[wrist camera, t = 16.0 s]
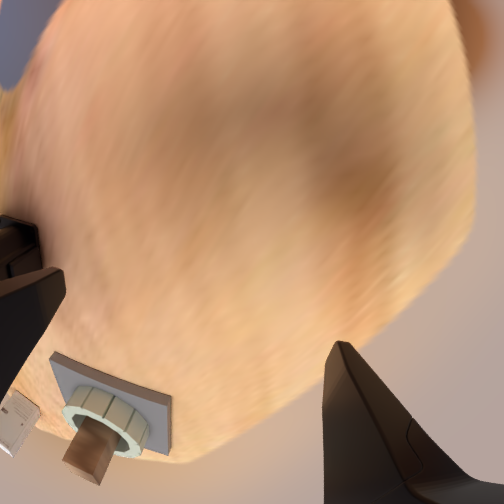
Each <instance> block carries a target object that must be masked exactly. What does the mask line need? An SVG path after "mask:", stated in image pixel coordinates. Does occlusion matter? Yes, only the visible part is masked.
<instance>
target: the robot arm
mask: <svg viewBox="0 0 504 504" xmlns="http://www.w3.org/2000/svg"><path fill="white" fill-rule="evenodd" d="M65 295H66V286H65V278H64V272H63V270H61V269H59V268H56V267H49V268H45V269H42V264H41V257H40V249H39V240H38V230H37V227H36V226H35V225H34V224H30V223H27V222H23V221H20V220H17V219H13V218H10V217H7V216H3V215H0V404H1V401H2V400H3V398H4V396H5V395H6V393H7V391H8V389H9V388H10V386H11V384H12V383H13V381H14V379H15V377H16V376H17V374H18V372H19V371H20V369H21V368H22V366H23V364H24V363H25V361H26V360H27V358H28V356H29V355H30V353H31V352H32V350H33V349H34V347H35V346H36V344H37V343H38V341H39V340H40V338H41V337H42V335H43V334H44V332H45V330H46V329H47V327H48V325H49V324H50V322H51V320H52V318H53V316H54V315H55V313H56V311H57V309H58V308H59V306H60V304H61V302H62V301H63V299H64V297H65ZM322 418H323V419H322V420H323V450H324V504H504V485H503V484H496V483H489V482H484V481H480V480H477V479H474V478H472V477H471V476H469V475H468V474H466V473H465V472H464V471H463V470H462V469H461V468H460V467H459V466H458V465H457V464H456V463H455V462H454V461H453V460H452V459H451V458H450V457H449V456H448V455H447V454H446V453H445V452H444V451H443V450H442V449H441V448H440V447H439V446H438V445H437V444H436V443H435V442H434V441H433V440H432V439H431V438H430V437H429V436H428V434H426V432H425V431H424V430H423V429H422V428H421V426H420V425H419V424H418V423H417V422H416V420H415V419H414V418H412V416H411V415H410V413H409V412H408V411H407V410H406V409H405V407H404V406H403V405H402V404H401V403H400V401H399V400H398V399H397V398H396V397H395V396H394V394H393V393H392V392H391V391H390V390H389V388H387V386H386V385H385V384H384V382H383V381H382V380H381V379H380V378H379V377H378V375H377V374H376V373H375V372H374V371H373V370H372V368H371V367H370V366H369V365H368V364H367V363H366V361H365V360H364V359H363V358H362V357H361V355H360V354H359V353H358V352H357V351H356V350H355V348H354V347H353V346H352V345H351V344H350V343H349V342H344V341H336V342H335V343H334V345H333V347H332V349H331V351H330V354H329V356H328V358H327V360H326V363H325V373H324V390H323V402H322Z"/></svg>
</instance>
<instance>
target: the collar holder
mask: <svg viewBox="0 0 504 504" xmlns="http://www.w3.org/2000/svg"><path fill="white" fill-rule="evenodd" d="M49 361H50V364H51V367H52V370H53V372H54V375H55V378H56V380H57V383H58V386H59V388H60V391H61V393H62V396H63V398H64V400H65V403H66V405H65V407H64V408H63V410H62V414H63V416H64V418H65V420H66V422H67V423H68V424H69V425H70V426H71V427H72V428H73V429H74V430H75V431H76V432H77V431H78V429H79V428H80V426H81V424H82V422H83V420H84V419H85V417H86V415H87V416H89V417H91V418H93V419H96V420H98V421H100V422H102V423H104V424H105V425H107V426H109V427H110V428H112V429H113V430H115V431H116V432H118V433H119V434H120V435H121V438H120V440H119V443H118V445H117V447H116V449H115V452H114V455H117V456H122V457H128V458H135V457H137V456H140V455H141V454H142V451H143V449H144V448H146V449H149V450H152V451H155V452H158V453H161V454H164V455H167V456H168V455H169V452H170V449H171V396H168V395H165V394H161V393H158V392H155V391H152V390H149V389H146V388H143V387H140V386H137V385H134V384H131V383H129V382H126V381H123V380H120V379H118V378H115V377H112V376H110V375H107V374H105V373H102V372H100V371H97V370H95V369H92V368H90V367H88V366H85V365H83V364H81V363H78V362H76V361H74V360H72V359H70V358H67V357H65V356H63V355H61V354H59V353H57V352H54V353H53V354H52V356H51V357H50V358H49Z"/></svg>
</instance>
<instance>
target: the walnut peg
mask: <svg viewBox="0 0 504 504" xmlns="http://www.w3.org/2000/svg"><path fill="white" fill-rule="evenodd" d="M120 438H121V435H120V434H119V433H118V432H116V431H115V430H113V429H112V428H110V427H109V426H107V425H105V424H104V423H102V422H100V421H98V420H96V419H93V418H91V417H89V416H87V415H86V417H85V419H84V420H83V422H82V424H81V426H80V428H79V429H78V431H77V433H76V435H75V437H74V438H73V440H72V442H71V444H70V446H69V448H68V450H67V451H66V453H65V455H64V457H63V459H62V461H63V462H64V463H65V465H66V466H67V467H68V468H69V470H70V471H71V472H72V473H74V474H76V475H78V476H80V477H82V478H84V479H86V480H88V481H90V482H92V483H95V484H97V485H100V483H101V481H102V479H103V477H104V474H105V472H106V470H107V467H108V465H109V463H110V461H111V458H112V456H113V454H114V452H115V449H116V447H117V445H118V443H119V440H120Z"/></svg>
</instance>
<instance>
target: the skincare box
mask: <svg viewBox="0 0 504 504" xmlns="http://www.w3.org/2000/svg"><path fill="white" fill-rule="evenodd" d="M39 418H40V410H39V407H37V406H36V405H35V404H33V403H32V402H31V401H29V400H28V399H27V398H25V397H24V396H23V395H22V394H20V393H19V392H18V391H15V392H14V393H13V395H12V396H11V397H10V398H9V400H8V401H7V403H6V404H5V405H4V406H3V408H2V409H1V410H0V447H1V448H2V449H3V450H4V451H6V452H7V453H8V454H9V455H11V456H12V457H13V458H14V457H15V455H16V453H17V451H18V450H19V448H20V447H21V445H22V444H23V442H24V440H25V439H26V438H27V436H28V434H29V433H30V431H31V430H32V428H33V427H34V425H35V424H36V422H37V421H38V419H39Z"/></svg>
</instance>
